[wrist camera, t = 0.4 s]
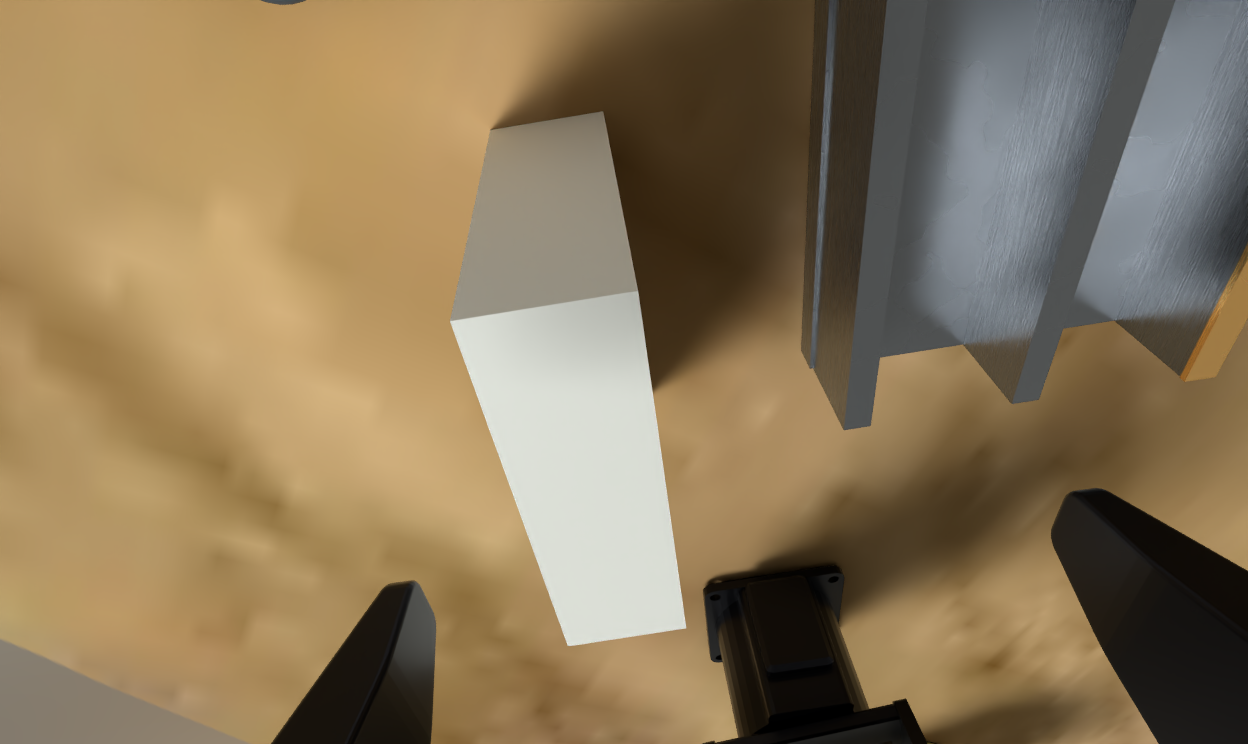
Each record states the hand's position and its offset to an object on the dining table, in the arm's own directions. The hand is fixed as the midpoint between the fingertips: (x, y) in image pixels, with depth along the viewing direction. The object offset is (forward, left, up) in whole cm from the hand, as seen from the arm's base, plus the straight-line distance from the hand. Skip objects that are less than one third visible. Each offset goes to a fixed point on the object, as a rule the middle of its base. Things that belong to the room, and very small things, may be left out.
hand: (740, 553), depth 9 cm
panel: (-3, +2, -12) cm, 13 cm away
